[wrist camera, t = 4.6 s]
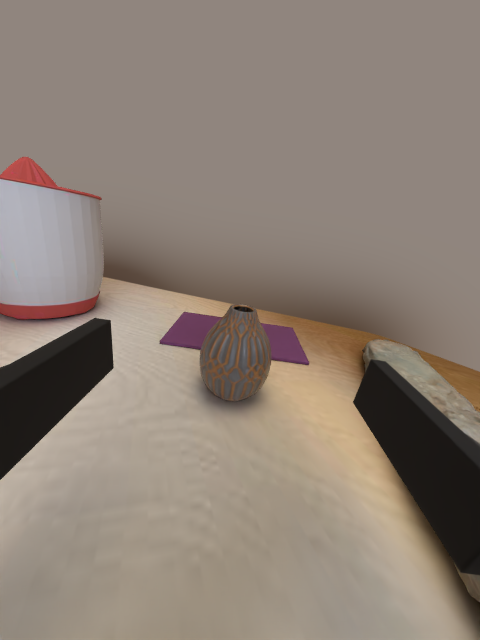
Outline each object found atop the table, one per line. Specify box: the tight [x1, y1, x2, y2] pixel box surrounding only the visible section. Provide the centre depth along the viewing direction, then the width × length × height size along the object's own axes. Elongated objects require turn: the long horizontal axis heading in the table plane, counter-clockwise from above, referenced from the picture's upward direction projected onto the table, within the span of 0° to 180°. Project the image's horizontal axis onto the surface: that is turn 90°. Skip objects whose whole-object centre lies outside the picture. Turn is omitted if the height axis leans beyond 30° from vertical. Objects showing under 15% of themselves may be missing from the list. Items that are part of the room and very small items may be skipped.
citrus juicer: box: [0, 157, 104, 319], centre depth 32 cm, size 16×17×20 cm
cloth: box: [160, 312, 309, 365], centre depth 35 cm, size 20×12×1 cm, turn 88°
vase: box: [200, 304, 271, 401], centre depth 22 cm, size 7×7×9 cm
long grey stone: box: [362, 339, 480, 602], centre depth 20 cm, size 35×5×10 cm
